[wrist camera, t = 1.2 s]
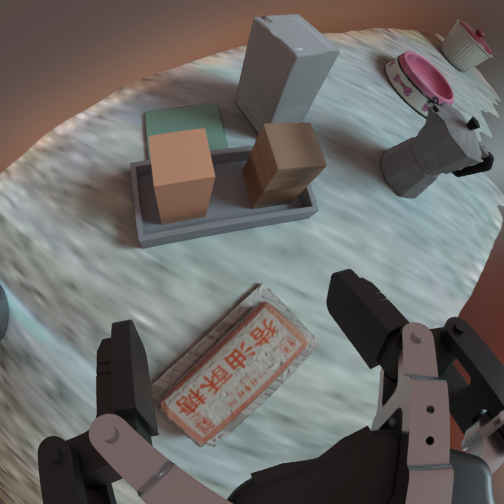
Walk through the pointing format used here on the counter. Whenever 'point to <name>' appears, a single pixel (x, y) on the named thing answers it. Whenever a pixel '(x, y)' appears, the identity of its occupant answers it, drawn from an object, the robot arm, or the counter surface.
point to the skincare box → (282, 69)
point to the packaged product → (233, 368)
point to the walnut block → (282, 164)
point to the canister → (465, 47)
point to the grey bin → (212, 203)
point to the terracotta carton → (181, 174)
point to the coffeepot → (435, 152)
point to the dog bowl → (418, 82)
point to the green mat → (188, 123)
